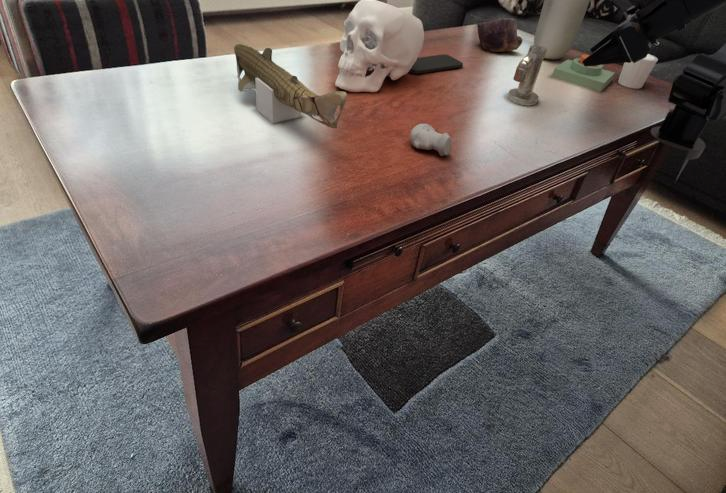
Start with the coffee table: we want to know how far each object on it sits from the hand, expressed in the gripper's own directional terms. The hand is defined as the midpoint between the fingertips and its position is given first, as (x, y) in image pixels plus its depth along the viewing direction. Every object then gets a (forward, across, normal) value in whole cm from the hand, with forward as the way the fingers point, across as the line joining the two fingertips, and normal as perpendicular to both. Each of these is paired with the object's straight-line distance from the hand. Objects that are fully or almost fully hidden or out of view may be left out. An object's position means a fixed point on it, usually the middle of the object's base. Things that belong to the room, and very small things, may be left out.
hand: (587, 57), depth 86 cm
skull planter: (+38, +4, -18) cm, 43 cm away
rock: (+28, -38, -8) cm, 48 cm away
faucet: (+17, -9, +2) cm, 19 cm away
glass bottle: (+18, -43, +1) cm, 47 cm away
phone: (+34, -14, -14) cm, 39 cm away
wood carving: (+41, +31, -21) cm, 56 cm away
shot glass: (+3, -38, +16) cm, 42 cm away
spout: (+11, -3, -3) cm, 12 cm away
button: (+8, -33, +6) cm, 34 cm away
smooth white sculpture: (+23, +26, -3) cm, 34 cm away
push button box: (+10, -33, +9) cm, 35 cm away
